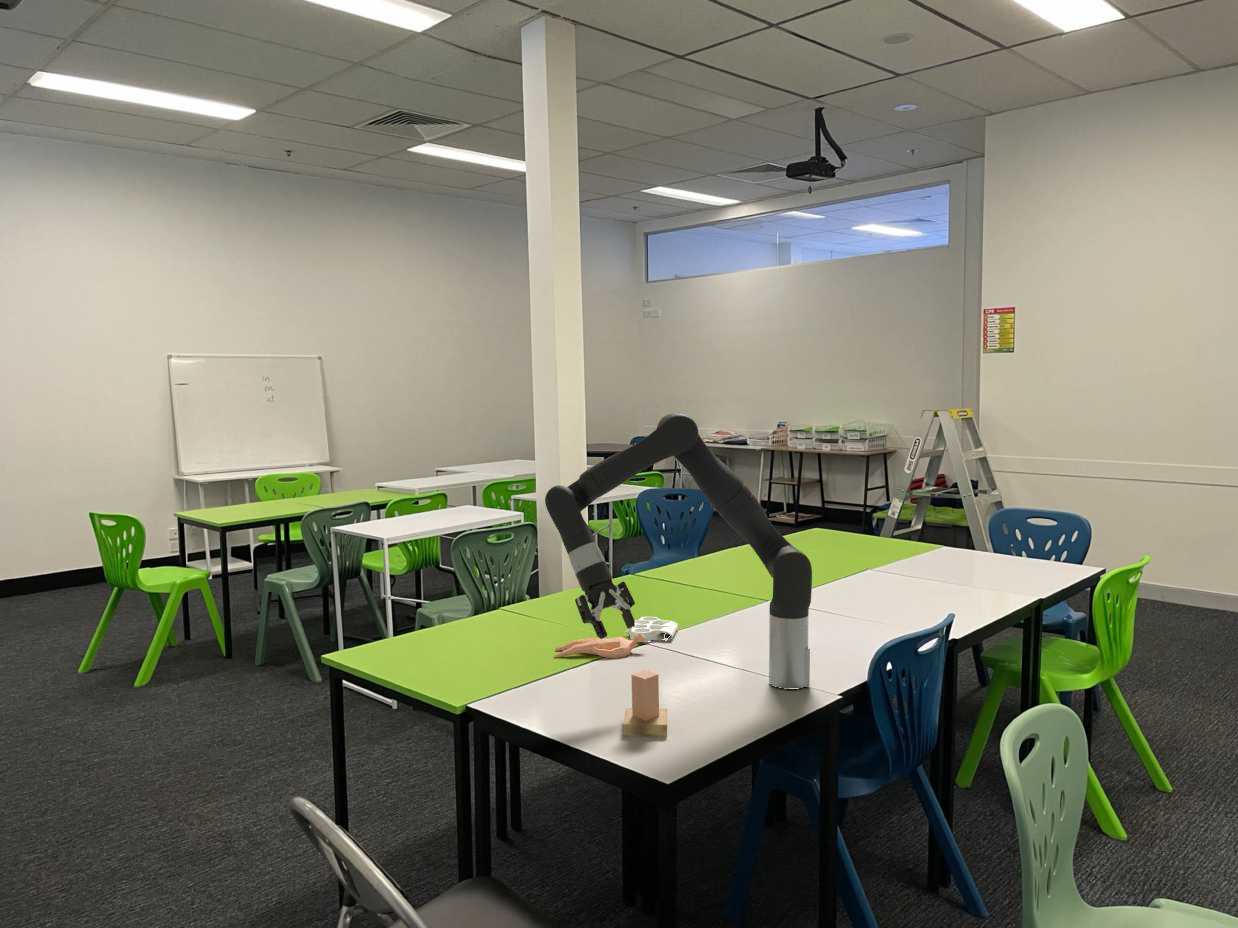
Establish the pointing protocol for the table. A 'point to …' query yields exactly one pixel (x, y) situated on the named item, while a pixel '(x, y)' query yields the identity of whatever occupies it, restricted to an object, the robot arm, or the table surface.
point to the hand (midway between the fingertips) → (618, 632)
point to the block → (645, 695)
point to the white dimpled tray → (652, 628)
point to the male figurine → (600, 646)
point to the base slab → (645, 725)
